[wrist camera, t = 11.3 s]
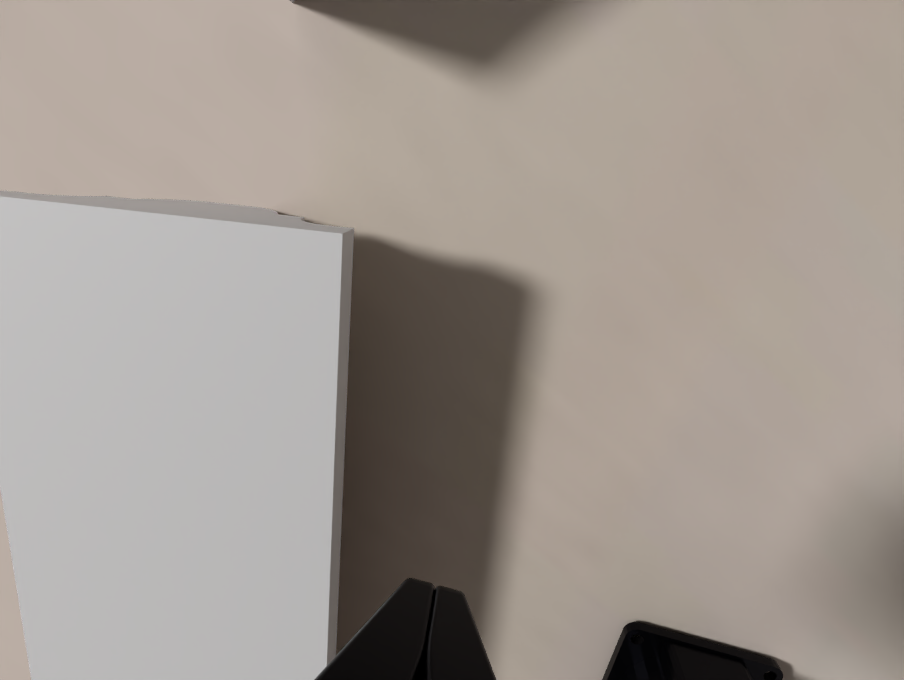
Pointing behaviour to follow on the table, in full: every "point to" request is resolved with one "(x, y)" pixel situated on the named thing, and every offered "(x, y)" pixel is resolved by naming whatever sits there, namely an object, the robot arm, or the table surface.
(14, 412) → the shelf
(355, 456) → the table surface
